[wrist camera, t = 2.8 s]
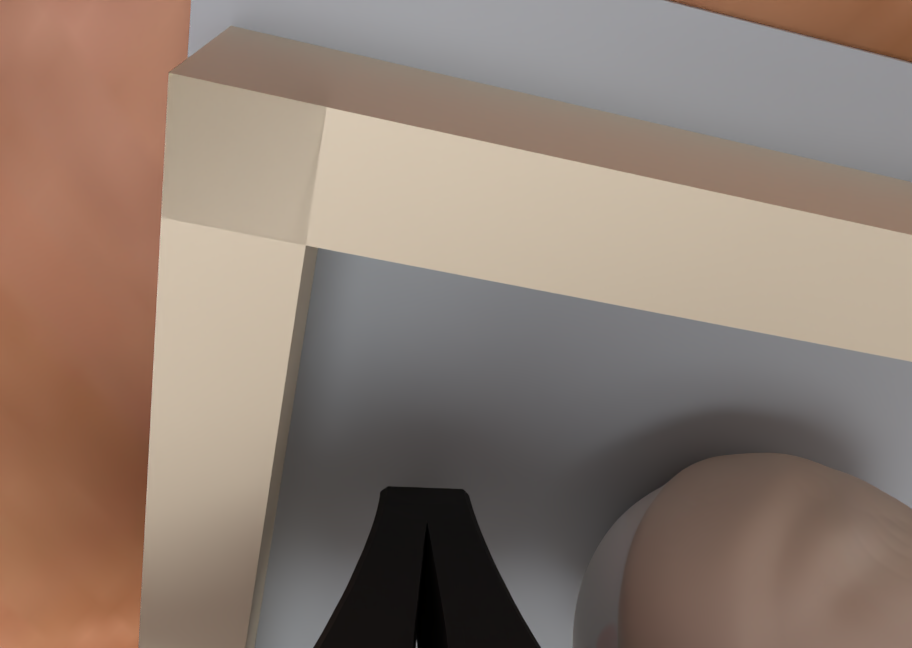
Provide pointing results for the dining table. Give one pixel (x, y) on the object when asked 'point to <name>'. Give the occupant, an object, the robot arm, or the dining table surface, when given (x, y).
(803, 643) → the garlic bulb
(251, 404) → the cubby board
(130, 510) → the dining table surface
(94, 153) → the dining table surface
